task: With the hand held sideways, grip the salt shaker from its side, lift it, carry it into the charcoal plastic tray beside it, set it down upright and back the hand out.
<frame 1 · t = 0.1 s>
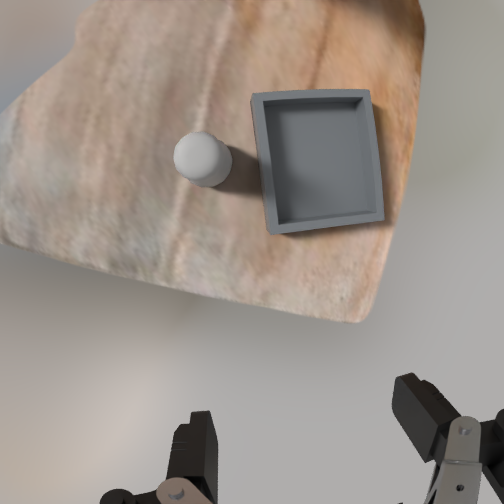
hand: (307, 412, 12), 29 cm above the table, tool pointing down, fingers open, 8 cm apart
tray: (314, 159, 38), on the table
salt shaker: (208, 163, 38), on the table
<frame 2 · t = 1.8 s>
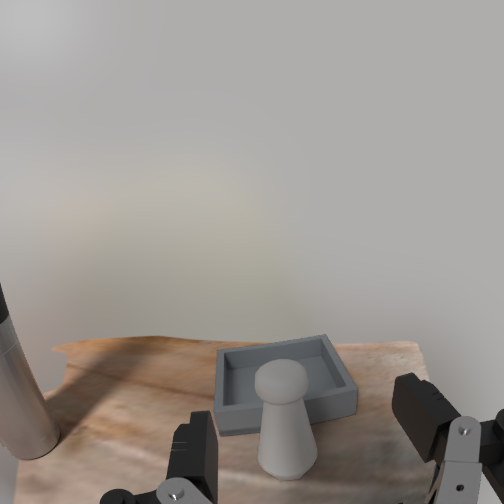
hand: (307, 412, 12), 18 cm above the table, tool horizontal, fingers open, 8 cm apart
tray: (281, 393, 40), on the table
salt shaker: (288, 468, 27), on the table
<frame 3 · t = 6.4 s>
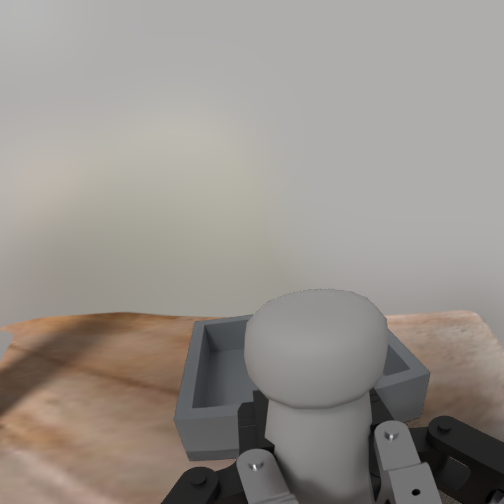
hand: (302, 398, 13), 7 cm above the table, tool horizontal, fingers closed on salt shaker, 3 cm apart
tray: (294, 387, 25), on the table
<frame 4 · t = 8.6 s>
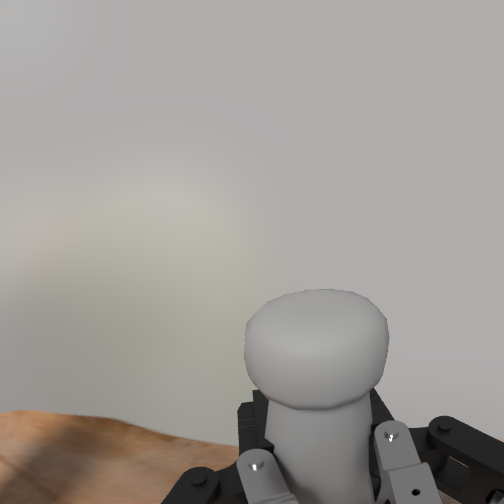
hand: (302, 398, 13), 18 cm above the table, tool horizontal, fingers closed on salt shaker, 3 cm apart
when the fingers open (9 cm above the table, at t = 10.9 s): salt shaker drops 1 cm, resting on tray.
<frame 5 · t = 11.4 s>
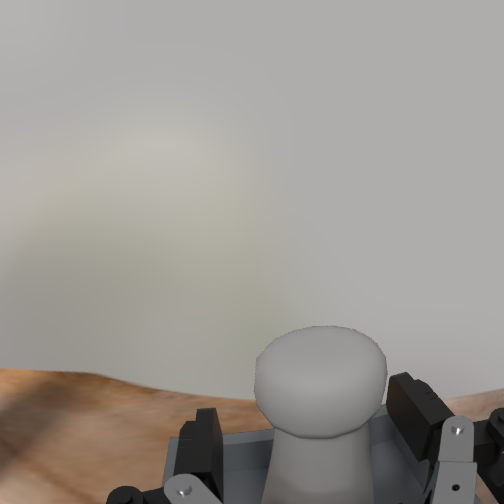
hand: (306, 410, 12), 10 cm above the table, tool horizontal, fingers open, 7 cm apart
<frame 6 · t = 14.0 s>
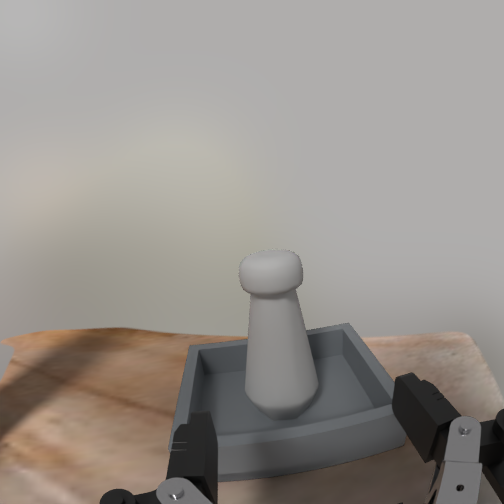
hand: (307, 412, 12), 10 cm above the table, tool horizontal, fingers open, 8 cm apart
tray: (284, 412, 25), on the table
salt shaker: (283, 406, 25), point 1 cm above the table, touching tray
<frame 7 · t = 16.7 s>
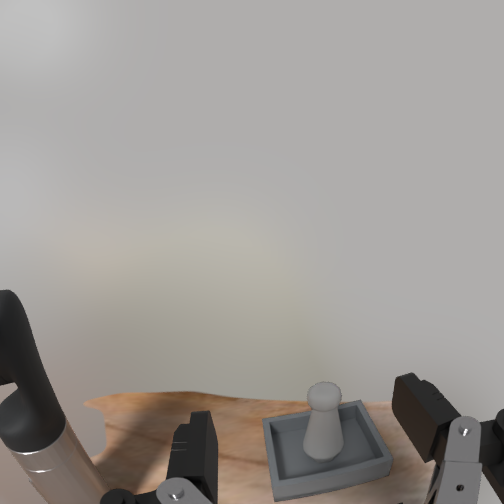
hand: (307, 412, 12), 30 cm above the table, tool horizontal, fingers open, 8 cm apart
tray: (322, 456, 40), on the table
salt shaker: (323, 454, 39), point 1 cm above the table, touching tray
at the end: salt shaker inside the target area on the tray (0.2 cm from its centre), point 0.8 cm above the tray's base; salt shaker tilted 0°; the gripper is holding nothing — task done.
